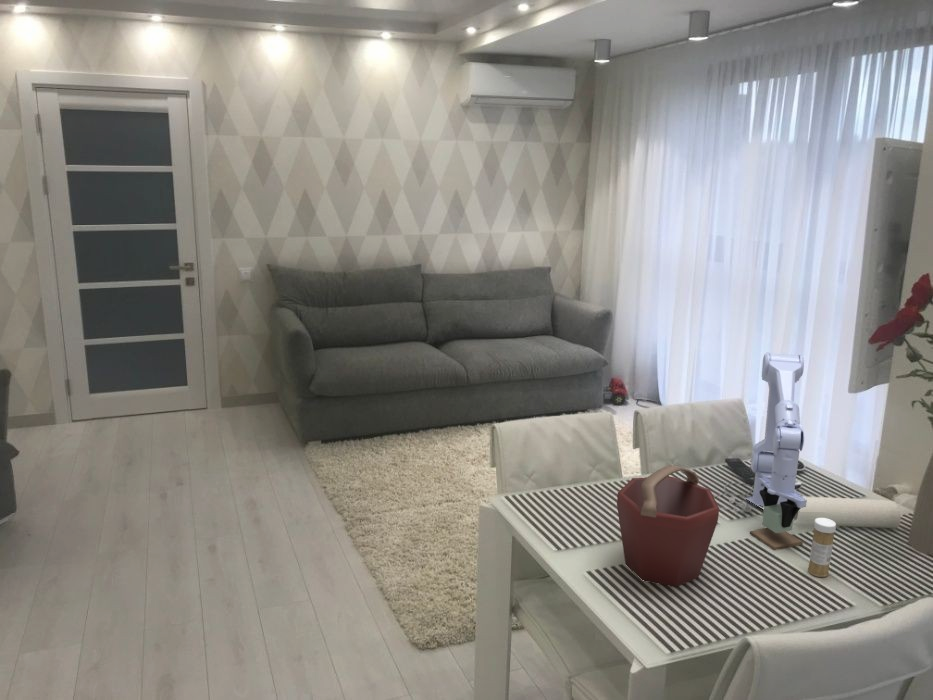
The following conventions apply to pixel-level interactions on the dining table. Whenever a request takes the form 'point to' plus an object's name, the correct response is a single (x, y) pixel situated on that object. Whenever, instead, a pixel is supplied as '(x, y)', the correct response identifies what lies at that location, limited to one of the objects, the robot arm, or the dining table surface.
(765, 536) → the walnut board
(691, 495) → the bucket
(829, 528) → the sprinkles bottle
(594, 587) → the dining table surface
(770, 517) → the green cube
